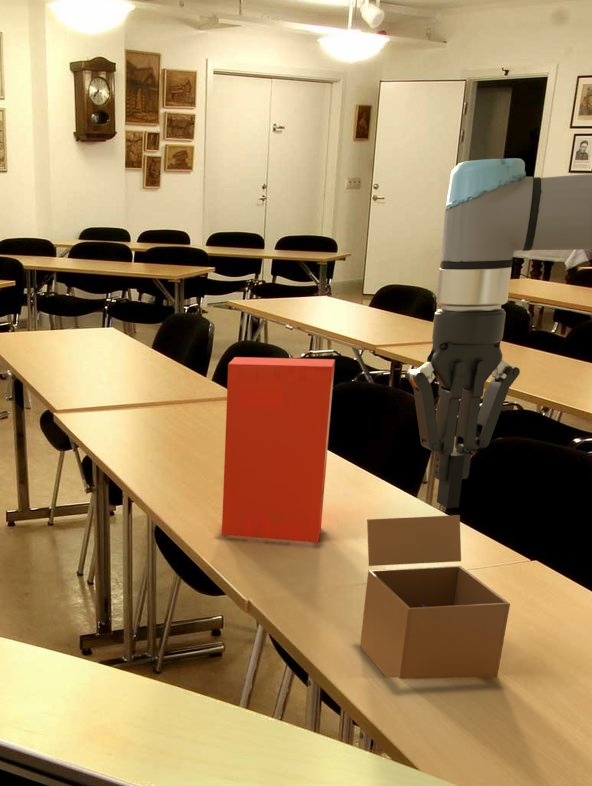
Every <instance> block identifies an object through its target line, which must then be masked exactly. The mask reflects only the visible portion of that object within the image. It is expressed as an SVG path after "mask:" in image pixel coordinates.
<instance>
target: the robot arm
mask: <svg viewBox="0 0 592 786" xmlns="http://www.w3.org/2000/svg"><path fill="white" fill-rule="evenodd" d="M525 169H526V163H525V161H524V160H523V159H522V158H516V157H511V158H488V159H487V158H486V159H476V160H475V159H474V160H466V161H463V162H460V163H458V164H457V165H456V166H455V167H454V168H453V169H452V170H451V172H450V176H449V182H448V189H447V194H446V195H447V196H446V203H445V207H444V210H445V211H444V217H443V230H442V240H441V252H440V265H439V269H438V270H439V272H438V280H437V281H438V282H437V288H436V291H437V292H436V300H435V302H436V303H437V305H439V306H440V308H438V309H436V311H435V312H434V316H433V326H432V327H433V328H432V338H431V339H432V347H431V350H430V352H429V353H428V355H427V357H426V362H425V363H423V364H422V365H421V366H419V367H418V368H416V369H414V368H413V369H409V370H407V372H406V375H405V376H406V379H407V381H408V382H409V384H410V386H411V387H412V389H413V397H414V404H415V411H416V419H417V426H418V433H419V440H420V441H419V442H420V445H421V446H422V447H423V448H426V449H428V450H430V451H432V452H434V453H435V456H434V465H433V477H434V479H436V480H437V481H438V486H437V495H436V496H437V497H436V503H438V504H439V505H441V506H443V507H444V508H446V509H453V508H455V509H456V508H459V507H460V500H461V499H460V498H461V491H462V483H463V480H467V479H468V477H469V476H470V469H471V468H470V467H471V461H472V460H471V459H472V456H475V455H476V454H477V453H478V450H479V449H486V448H487V447H489V445H490V442H491V440H492V437H493V433H494V432H495V429H496V426H497V423H498V421H499V417H500V416H501V415H500V414H501V412H502V410H503V407H504V404H505V401H506V398H507V396H508V393H509V391H510V387H511V386H512V385H513V383H514V382H515V381H516V379H518V377H519V376H520V374H521V370H520V368H519V367H517V366H513V365H511V364H509V363H508V362H506V361H504V360H503V353H502V350H501V342H502V341H503V337H504V330H505V322H506V315H507V313H506V311H505V309H504V308H502V305H505V304H507V303H508V302H509V293H510V283H511V276H512V275H511V274H512V266H513V257H514V254H515V252H517V251H522V252H530V251H575V250H592V173H586V174H585V173H584V174H571V175H570V174H569V175H558V176H556V175H555V176H545V177H540V176H527V175H526V174H527V172H526V170H525ZM433 376H434V377H435V379H436V380H437V382H438V395H439V402H438V412H437V415H436V407H435V399H434V392H433V388H432V385H431V383H432V382H433ZM490 377H492V378H491V379H490V381H489V383H488V386H487V388H486V391H485V392H484V390H485V383H486V382H487V380H488V379H489V378H490ZM484 393H485V394H484ZM483 396H484V397H483ZM482 397H483V400H482V403H481V398H482ZM480 404H481V405H480ZM454 448H455V450H454Z"/></svg>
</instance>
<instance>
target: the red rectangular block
mask: <svg viewBox="0 0 592 786" xmlns="http://www.w3.org/2000/svg"><path fill="white" fill-rule="evenodd" d="M335 365H336V359H333V358H331V359H330V358H329V359H328V358H291V357H287V358H285V357H252V356H251V357H249V356H248V357H247V356H246V357H245V356H234V357H233V358H232V359H231V361H229V363H228V365H227V384H226V385H227V386H226V388H227V390H226V409H225V411H226V412H225V413H226V415H225V436H224V437H225V438H224V440H225V441H224V463H223V464H224V465H223V489H222V491H223V494H222V515H221V517H222V518H221V535H222V536H234V537H245V538H255V539H256V538H257V539H269V540H279V541H280V540H282V541H293V542H305V543H316V544H318V543H319V539H320V534H321V529H322V522H323V521H322V520H323V508H324V499H325V498H324V496H325V486H326V485H325V483H326V474H327V473H326V472H327V460H328V448H329V437H330V424H331V412H332V400H333V389H334V379H335V378H334V377H335V376H334V375H335V367H336V366H335Z"/></svg>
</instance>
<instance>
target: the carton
mask: <svg viewBox="0 0 592 786" xmlns="http://www.w3.org/2000/svg"><path fill="white" fill-rule="evenodd" d="M421 603H422V604H424V605H425V606H426V607H419V606H420V605H421ZM363 605H364V607H363V613H362V615H363V616H362V626H361V634H360V641H359V647H360V648H361V649H362V650H363V652H364V653H365V654H366V655H367V657H368V658H369V659H370V660H371V661H372V662H373V664H374V665H375V666H376V667H377V668H378V669H379V671H380V672H381V673H382V674H383V675H384V677H385V678H387V679H390V678H392V679H393V678H398V679H399V680H405V679H408V680H409V679H411V680H413V679H414V680H415V679H451V678H453V679H455V678H491V677H492V678H493V677H494V678H495V677H498V675H499V670H500V663H501V657H502V652H503V647H504V643H505V642H504V641H505V636H506V630H507V623H508V618H509V612H510V607H511V603H510V602H509V601H507V600H506V599H504V598H503V597H502V596H501V595H499V594H498V593H497V592H495V590H493V589H491V587H489V586H487V584H485V583H483V582H482V581H481V580H479V579H478V578H477V577H476V576H475V575H473V574H472V573H470V572H469V571H468V570H466V569H465V568H464V567H462V566H461V565H449V566H448V565H447V566H430V567H429V566H427V567H411V568H409V567H407V568H392V569H391V568H390V569H389V568H388V569H371V570H370V569H369V570H368V571H367V579H366V589H365V597H364V604H363Z"/></svg>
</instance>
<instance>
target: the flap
mask: <svg viewBox="0 0 592 786" xmlns="http://www.w3.org/2000/svg"><path fill="white" fill-rule="evenodd" d="M366 528H367V529H366V530H367V531H366V532H367V559H368V561H367V562H368V567H376V566H379V567H380V566H396V565H397V566H398V565H416V564H417V565H418V564H438V563H439V564H440V563H457V562H462V545H461V544H462V543H461V541H462V540H461V515H460V514H454V515H433V516H412V517H409V516H408V517H390V518H389V517H387V518H371V519H370V518H368V519H366Z"/></svg>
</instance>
